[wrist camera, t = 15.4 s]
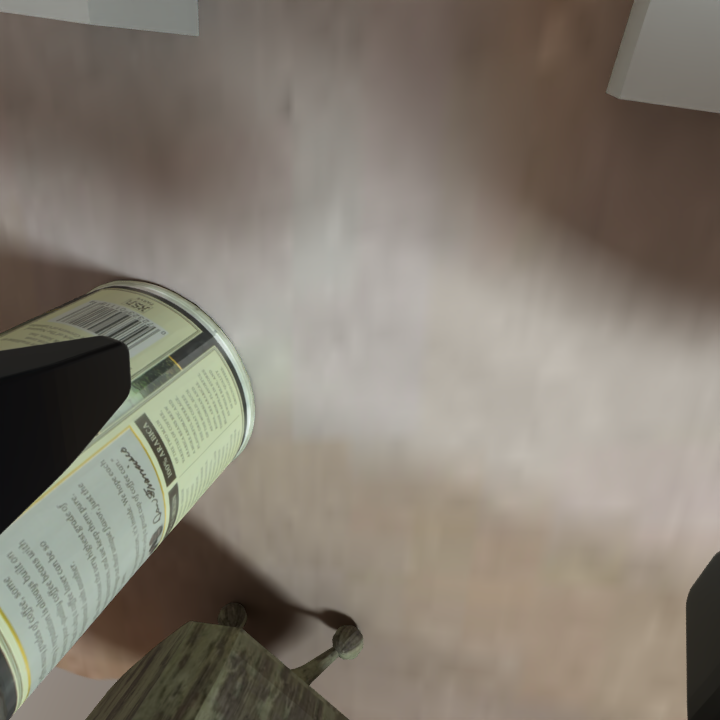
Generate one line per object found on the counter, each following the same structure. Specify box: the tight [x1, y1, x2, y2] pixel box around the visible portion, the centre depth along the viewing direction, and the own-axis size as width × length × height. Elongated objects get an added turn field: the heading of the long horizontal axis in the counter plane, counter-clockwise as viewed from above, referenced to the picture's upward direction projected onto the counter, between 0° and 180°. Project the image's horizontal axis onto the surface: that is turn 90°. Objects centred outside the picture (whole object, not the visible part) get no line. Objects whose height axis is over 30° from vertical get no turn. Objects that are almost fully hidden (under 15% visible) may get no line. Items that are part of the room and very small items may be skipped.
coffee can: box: [0, 280, 255, 720], centre depth 20 cm, size 10×10×14 cm
